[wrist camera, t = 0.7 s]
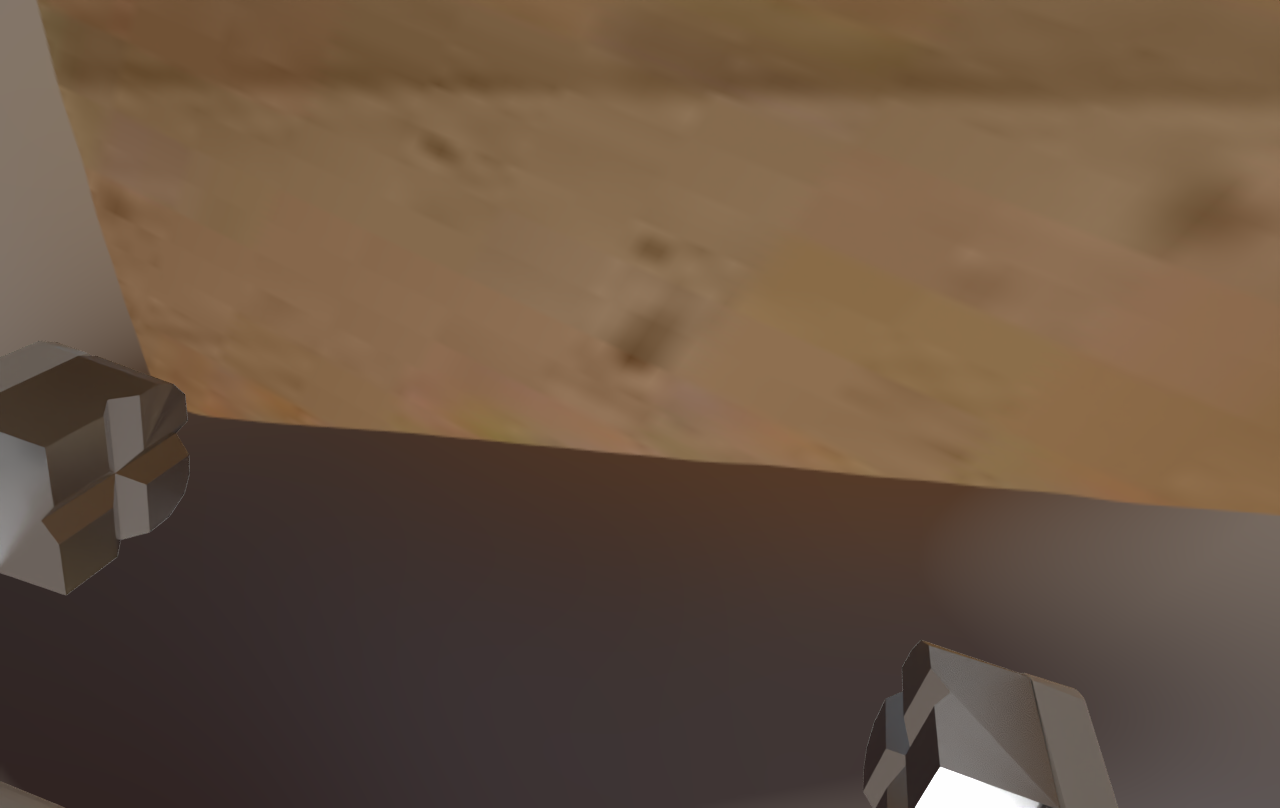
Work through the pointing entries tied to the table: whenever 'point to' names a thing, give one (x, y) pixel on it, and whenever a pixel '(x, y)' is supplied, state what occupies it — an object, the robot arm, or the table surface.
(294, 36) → the table surface
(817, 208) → the table surface
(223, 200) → the table surface
